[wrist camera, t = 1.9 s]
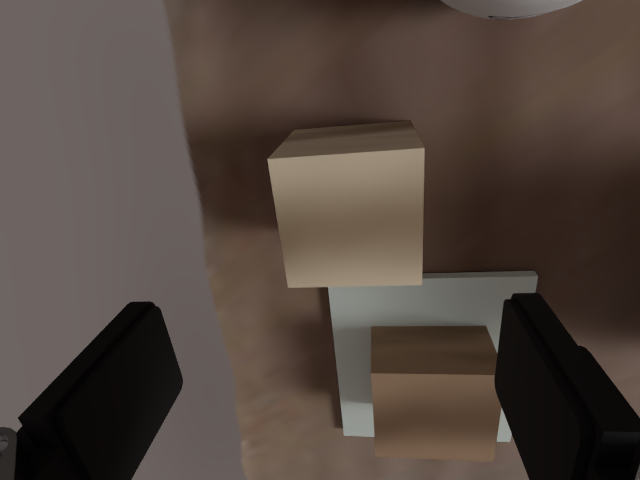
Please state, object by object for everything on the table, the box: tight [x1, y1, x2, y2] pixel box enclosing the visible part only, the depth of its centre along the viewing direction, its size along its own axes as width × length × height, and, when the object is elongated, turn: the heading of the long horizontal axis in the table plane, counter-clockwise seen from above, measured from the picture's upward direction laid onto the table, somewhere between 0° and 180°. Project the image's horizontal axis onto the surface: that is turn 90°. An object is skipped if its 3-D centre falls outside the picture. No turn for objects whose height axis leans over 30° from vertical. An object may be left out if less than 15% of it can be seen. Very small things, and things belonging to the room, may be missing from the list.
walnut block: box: [371, 326, 502, 462], centre depth 24 cm, size 7×7×4 cm
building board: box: [328, 271, 538, 442], centre depth 26 cm, size 14×12×1 cm
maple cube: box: [267, 120, 425, 288], centre depth 19 cm, size 6×6×6 cm
